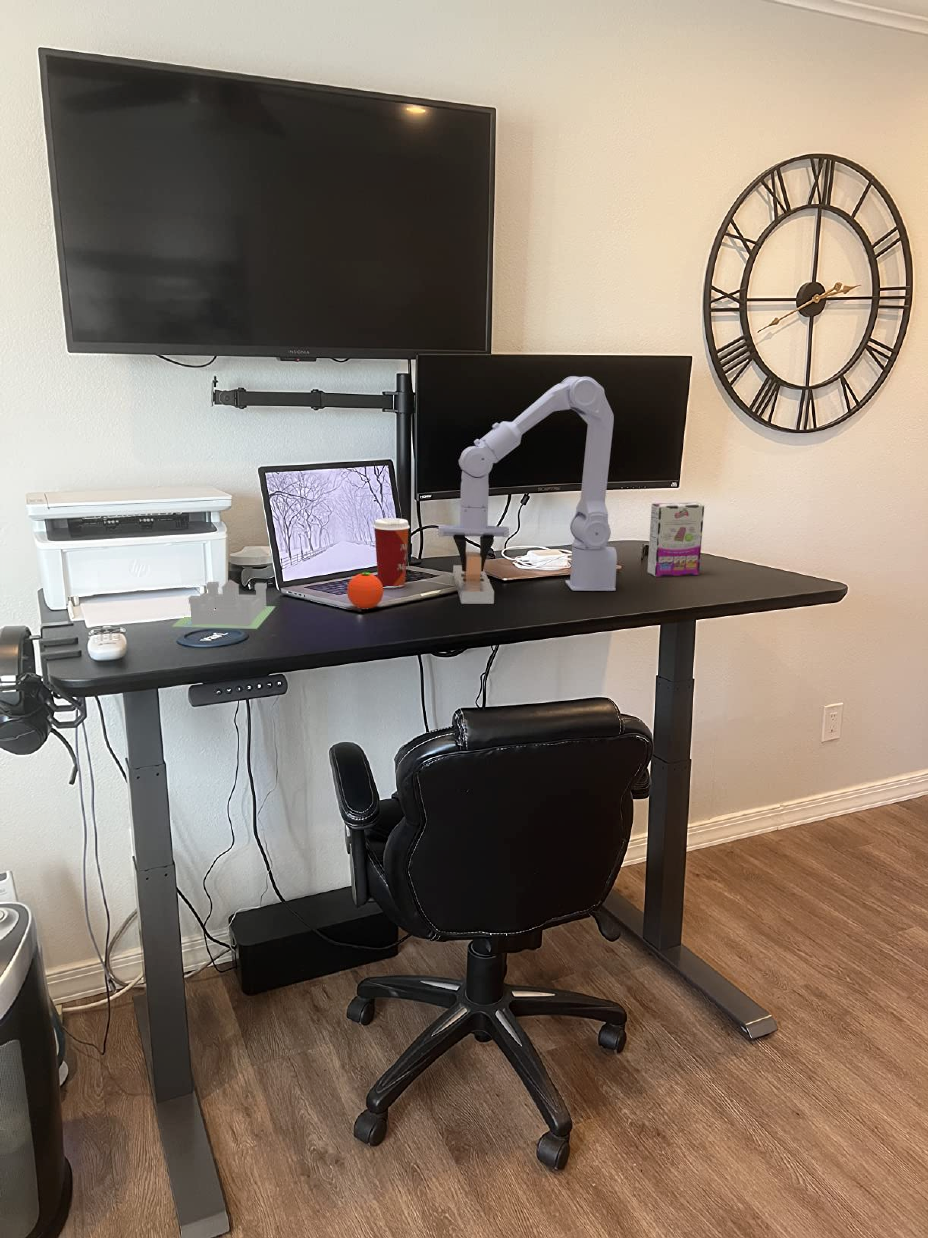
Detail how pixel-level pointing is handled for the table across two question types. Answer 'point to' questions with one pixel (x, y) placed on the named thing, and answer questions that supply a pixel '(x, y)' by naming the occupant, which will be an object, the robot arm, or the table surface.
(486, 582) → the rail
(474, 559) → the orange block
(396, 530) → the paper cup
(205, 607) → the castle model
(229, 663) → the table surface
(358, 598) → the clementine
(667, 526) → the candy bar box
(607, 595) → the table surface
